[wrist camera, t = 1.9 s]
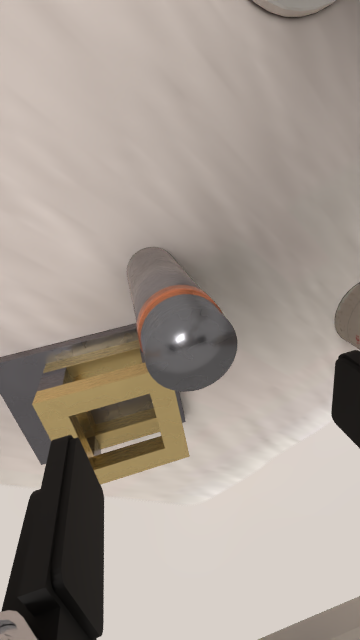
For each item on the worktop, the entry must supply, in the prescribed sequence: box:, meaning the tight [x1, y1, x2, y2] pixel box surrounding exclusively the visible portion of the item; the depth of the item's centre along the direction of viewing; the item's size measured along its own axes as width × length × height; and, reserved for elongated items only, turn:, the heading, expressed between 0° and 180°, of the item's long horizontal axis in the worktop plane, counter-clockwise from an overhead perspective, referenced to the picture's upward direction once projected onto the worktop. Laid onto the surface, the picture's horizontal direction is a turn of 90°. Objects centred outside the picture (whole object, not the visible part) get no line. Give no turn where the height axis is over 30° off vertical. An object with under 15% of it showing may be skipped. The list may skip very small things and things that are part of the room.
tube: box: [127, 247, 237, 391], centre depth 20 cm, size 5×5×14 cm
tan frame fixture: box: [0, 323, 189, 484], centre depth 27 cm, size 16×13×6 cm
